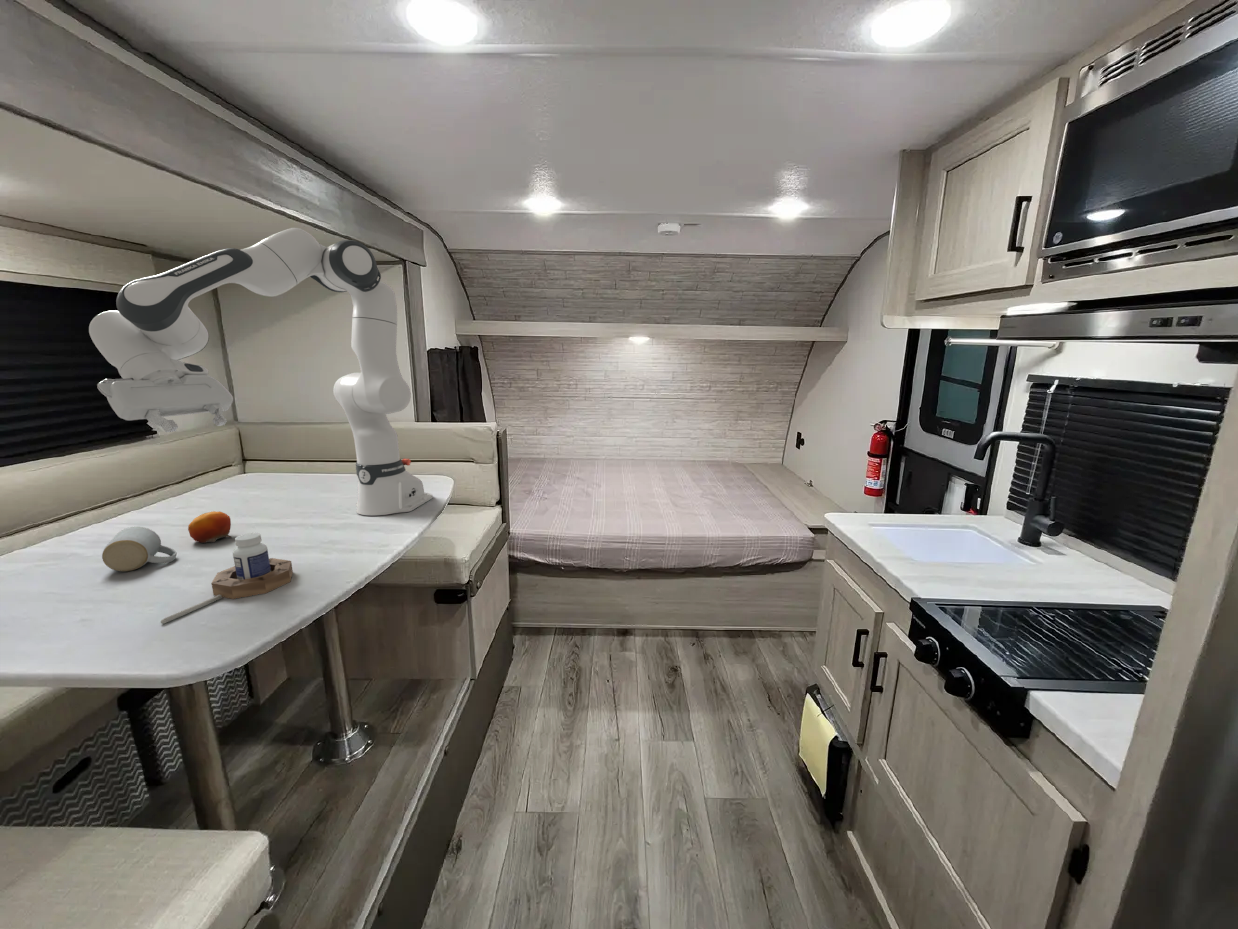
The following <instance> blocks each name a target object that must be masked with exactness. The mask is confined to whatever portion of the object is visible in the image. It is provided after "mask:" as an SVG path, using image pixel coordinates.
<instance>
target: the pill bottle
mask: <svg viewBox="0 0 1238 929" xmlns="http://www.w3.org/2000/svg"><path fill="white" fill-rule="evenodd" d="M234 540H235V541H234V543H235V546H236V548H235V549H234V550H233V552H232V556H233V563H234V564H233V565H234V566H235V569H236V574H237V579H238V580H244V579H249V578H255V577H260V576H262V575H265V574H267V573H269V572H271V568H270V562H269V559H270V556H269V550H268V546H267V544H266V543H263V542H262V535H261V533H258V532H249V533H244V534H241V535H238V536H236V537H235V538H234Z"/></svg>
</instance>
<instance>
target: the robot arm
mask: <svg viewBox="0 0 1238 929" xmlns="http://www.w3.org/2000/svg"><path fill="white" fill-rule="evenodd" d="M377 264H378V263H377V261H376V258H375V256H374V254H373V252H372V251H371V250H370V248H369V247H367V246H366V245H365V244H363V243H362V242H360V241H357V240H352V239H342V240H339V241H338V242H335V243H333V244H331V245H328V246H325V245H323V244H322V243H320V242H318V240H317V238H315V237H314V236H313V235H312V234H311V233H310V232H308V231H306V230H304V229H303V228H300V227H290V228H286V229H284V230H281V231H279V232H276V233H273V234H270V235H269V236H268V237H266V238H263V239H261V240H260V241H258V242H256V243H255V244H253V245H251V246H248V247H245V248H241V249H240V248H239V249H238V248H235V247H230V248H224V249H219V250H217V251H213V252H212V253H208V254H206V255H203V256H201V257H198V258H196V259H194V260H191V261H189V262H186V263H184V264H181V265H179V266H176V267H174V268H172V269H169V270H167V271H165V272H162V273H159V274H156V275H149V276H146V277H141V278H138V279H133V280H132V281H130V282H127V283H126V284H125V285H123V287H122V288H121V289H120V290H119V291H118V294H117V296H116V300H115V302H116V303H115V304H116V308H117V310H107V311H103V312H100V313H99V314H96V315H95V316H94V317H93V318H92V320H91V321H90V323H89V326H88V333H89V336H90V338H91V339H90V340H92V343H93V344H94V345H95V347H96V348H97V350H98V351H99V353H101V355H102V356H103V358H105V360H106V361H107V362H108V363H109V364H111V366H113V367H115V369H117V371H118V374H119V376H121V378H115V379H112V378H105V379H102V380H101V381H100V382H98V383H97V384H96V386H97V389H98V391H99V392H100V394H102V395H104V397H106V399H107V401H108V404H109V406H110V407H111V409H112V410H113V411H114V412H115V414H116V415H117V417H118V418H120V419H123V420H125V421H138V420H146V421H148V422H149V423H151V424H153V425H155V426H158V427H160V428H162V429H163V431H165V433H173V432H176V431H177V429H178V428H179V426H178V424H177V423H176V422H175V421H174V420H173V419H169V420H168V419H167V418H166V417H176V416H185V415H196V414H206V413H210V414H211V415H212V416H213V415H214V416H213V419H212V420H211V421H212V423H213V424H214V425H215V427H216V426H217V427H221V426H225V425H226V423H227V418H226V417H225V416H224V415H223V414H224V413H223V412H227V411H228V410H229V409H230V407H231V406H232V405H233V402H234V396H233V395H232V393H231V392H230V391H229V390H228V389H227V388H226V387H225V386H224V385H223V383H221V382H220V381H219V380H218V379H216V378H215V377H213V376H211V375H209V373H210V372H209V369H207V367H205V366H203V365H199V364H193V363H189V362H185V361H184V362H183V361H182V360H183V359H186V358H189V357H192V356H194V355H195V354H196V355H197V354H198V353H200V352H201V351H202V350H203V349H205V348H206V347H207V345H208V343H209V340H210V334H209V330H208V329H207V327H206V326H205V324H203V322H202V321H201V320H200V319H199V317H198V316H197V315H196V314H195V313H194V311H192V310H191V308H190V307H189V303H190V301H192V300H193V299H194V298H197V297H199V296H201V295H203V294H205V293H208V292H210V291H212V290H214V289H216V288H219V287H221V286H223V285H226V284H227V285H228V284H237V285H241V286H242V287H243V288H246V289H247V290H249V291H250V292H252V293H255V294H257V295H259V296H264V297H277V296H280V295H283V294H285V293H286V292H288V291H290V290H291V289H293V288H294V287H296V286H298V285H299V284H300V283H301V282H303V281H304V280H306V279H307V278H309V277H310V278H311V279H313V280H314V281H316V282H317V283H318V284H319V285H320V286H322V287H323V288H325V289H327V290H328V291H331V292H333V293H346V292H347V293H348V294H349V296H350V299H351V302H352V307H353V308H352V319H351V322H352V323H351V337H350V338H351V339H350V340H351V342H350V346H351V350H352V352H353V353H354V354H355V355H356V358H357V360H358V364H359V369H360V372H352V373H351V372H350V373H348V374H346V375H343V376H341V377H339V378H338V379H337V380H335V382H334V385H333V391H332V392H333V396H334V399H335V401H336V402H337V403H338V404H339V405H340V406H341V408H342V409H343V411H344V414H345V416H346V418H347V421H348V424H349V426H350V429H351V432H352V437H353V441H354V447H355V449H354V450H355V454H356V455H355V456H356V462H355V470H356V472H355V473H356V476H357V479H358V480H357V502H356V503H355V507H356V511H355V512H356V513H357V514H359V515H362V516H385V515H391V514H393V515H394V514H399V513H408V512H412V511H414V510H416V508H419V507H420V506H422V505H423V504H426V503H427V502H429V501H430V500H432V499H433V498H434V496H433V494H432V493H429V492H425V488H424V484H423V482H422V480H421V479H420V478H419V477H416V476H415V475H413V474H412V473H410V472H409V471H407V470H406V466H411V463H412V461H411V459H410V458H403V459H401V456H400V448H399V438H398V434H397V433H398V432H397V431H396V429H395V428H394V427H393V426H392V424H390V421H389V418H388V416H387V415H389V414H395V413H398V412H401V411H404V410H405V409H406V408H407V407H408V406H409V404H410V402H411V398H412V396H411V395H412V393H411V388H410V385H409V384H408V382H407V381H405V379H404V378H403V376H402V373H401V371H400V370H401V369H400V366H399V362H398V356H397V335H398V334H397V333H398V307H397V305H398V304H397V298H396V293H395V291H394V289H393V287H391V286H390V285H389V284H388V283H386V282H383V281H382V280H381V279H382V275H381V272H380V270H379V268H378V265H377ZM180 360H181V361H180Z"/></svg>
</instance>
